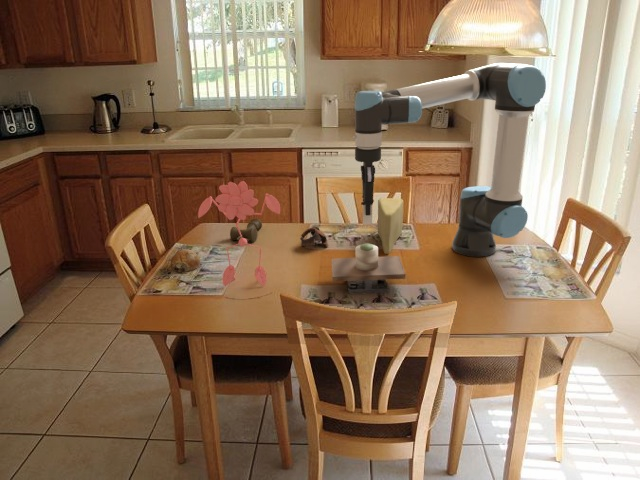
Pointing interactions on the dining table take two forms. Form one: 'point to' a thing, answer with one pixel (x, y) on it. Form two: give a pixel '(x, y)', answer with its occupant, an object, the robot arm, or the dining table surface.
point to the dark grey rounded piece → (247, 231)
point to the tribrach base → (368, 286)
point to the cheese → (389, 221)
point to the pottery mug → (313, 237)
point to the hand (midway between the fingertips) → (367, 224)
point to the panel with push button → (367, 266)
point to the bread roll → (185, 261)
